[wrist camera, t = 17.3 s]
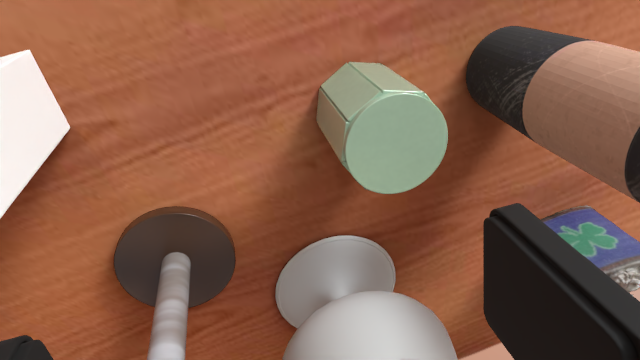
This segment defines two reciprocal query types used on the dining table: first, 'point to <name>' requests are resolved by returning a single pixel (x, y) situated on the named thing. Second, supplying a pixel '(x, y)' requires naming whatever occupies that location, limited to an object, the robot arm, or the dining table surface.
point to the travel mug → (565, 98)
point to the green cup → (381, 127)
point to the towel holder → (173, 270)
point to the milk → (25, 124)
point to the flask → (600, 243)
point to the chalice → (354, 307)
